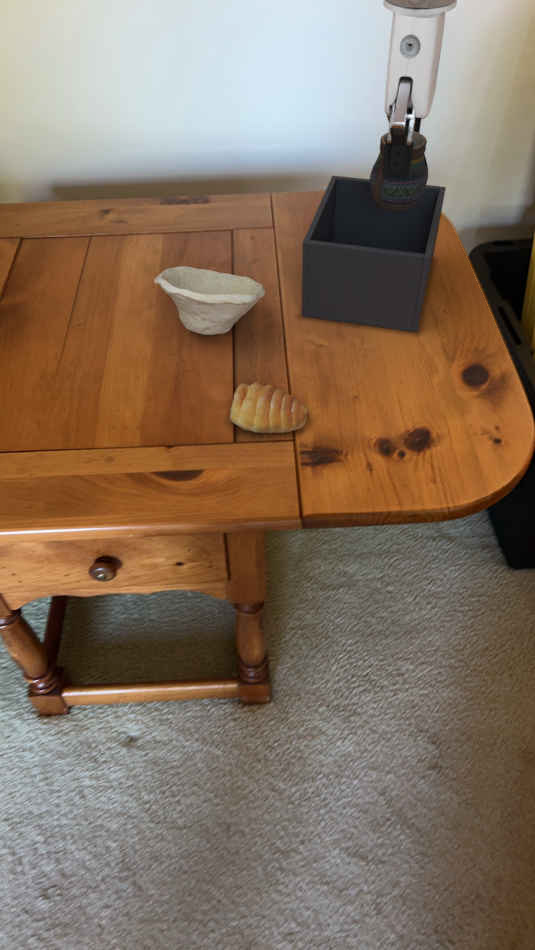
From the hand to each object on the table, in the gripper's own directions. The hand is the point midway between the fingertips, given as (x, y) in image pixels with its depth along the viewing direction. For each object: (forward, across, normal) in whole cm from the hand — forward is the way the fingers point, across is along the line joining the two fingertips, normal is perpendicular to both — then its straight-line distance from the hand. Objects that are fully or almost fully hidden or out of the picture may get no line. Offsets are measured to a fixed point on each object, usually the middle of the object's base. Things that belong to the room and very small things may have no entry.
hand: (400, 161), depth 81 cm
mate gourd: (+5, 0, 0) cm, 5 cm away
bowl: (+21, -11, +22) cm, 33 cm away
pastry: (+21, -27, +10) cm, 36 cm away
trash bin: (+21, +3, +2) cm, 21 cm away
